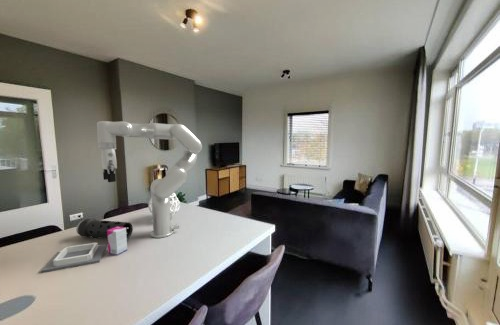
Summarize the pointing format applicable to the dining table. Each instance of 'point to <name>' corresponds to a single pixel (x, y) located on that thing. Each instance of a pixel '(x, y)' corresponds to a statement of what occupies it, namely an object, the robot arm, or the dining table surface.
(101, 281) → the dining table surface
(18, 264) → the dining table surface
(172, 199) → the decorative ball
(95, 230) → the muzzle brake
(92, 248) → the socket plate
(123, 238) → the supplement box
